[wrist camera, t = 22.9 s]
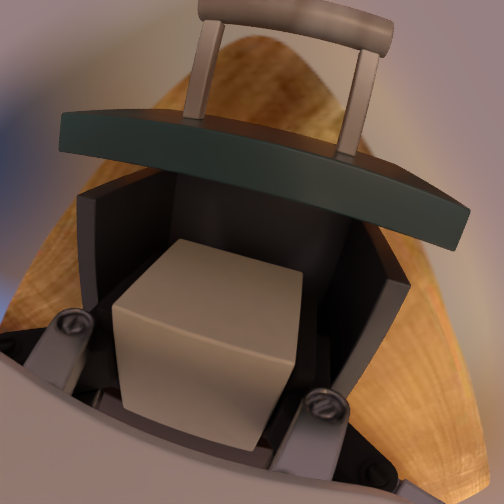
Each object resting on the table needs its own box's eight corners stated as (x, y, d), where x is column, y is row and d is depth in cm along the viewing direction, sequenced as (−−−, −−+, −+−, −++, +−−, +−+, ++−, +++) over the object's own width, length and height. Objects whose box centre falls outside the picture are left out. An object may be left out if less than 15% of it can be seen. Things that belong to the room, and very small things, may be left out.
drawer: (189, 21, 12) (96, -35, 5) (418, 72, 11) (508, 40, 4) (148, 321, 20) (89, 404, 13) (313, 369, 19) (306, 474, 12)
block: (179, 237, 11) (109, 305, 7) (303, 271, 10) (296, 364, 6) (170, 331, 12) (122, 408, 8) (271, 362, 12) (252, 452, 8)
